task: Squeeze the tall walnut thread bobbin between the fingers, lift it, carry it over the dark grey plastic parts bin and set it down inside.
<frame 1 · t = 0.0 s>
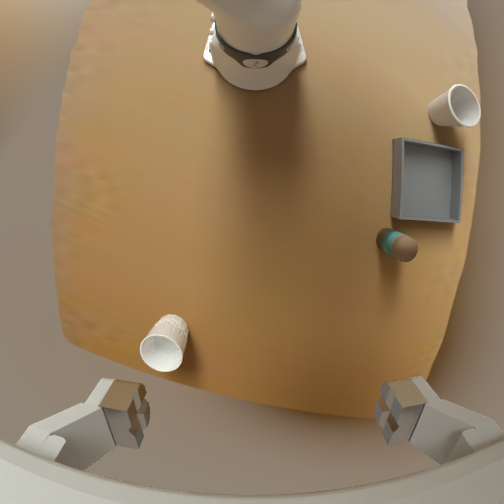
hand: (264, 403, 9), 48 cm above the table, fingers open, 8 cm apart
bin: (423, 181, 54), on the table
white cup: (173, 328, 61), on the table
dixie cup: (437, 113, 51), on the table
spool: (386, 239, 57), on the table
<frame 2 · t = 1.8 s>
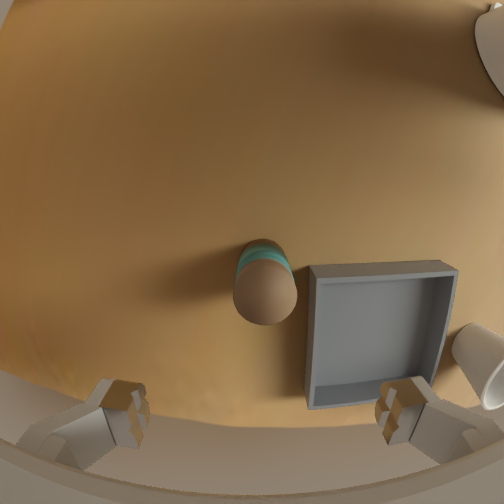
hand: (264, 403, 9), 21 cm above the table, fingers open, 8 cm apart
bin: (373, 328, 32), on the table
dixie cup: (467, 341, 33), on the table
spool: (262, 261, 30), on the table
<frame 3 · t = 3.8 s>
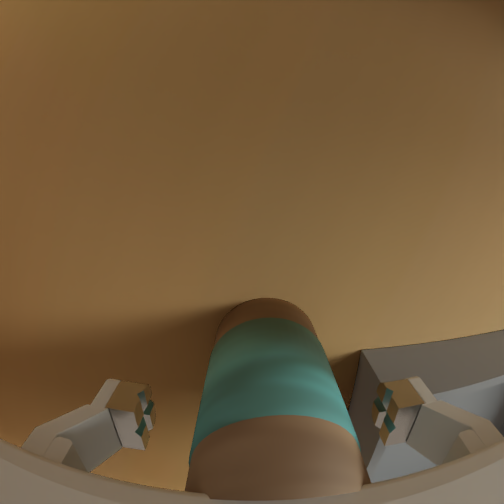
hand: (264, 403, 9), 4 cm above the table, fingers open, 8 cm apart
bin: (440, 431, 15), on the table
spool: (265, 344, 13), on the table
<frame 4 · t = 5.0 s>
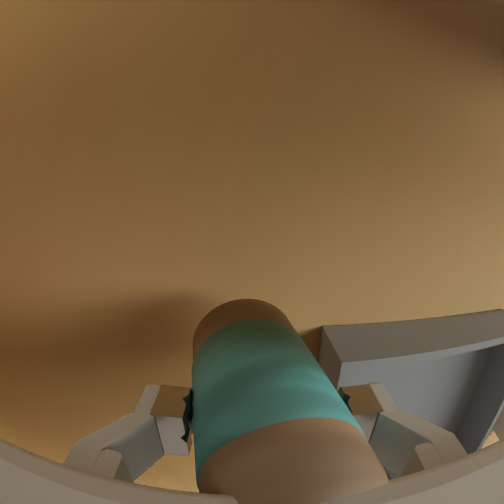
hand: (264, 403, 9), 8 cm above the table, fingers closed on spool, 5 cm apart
bin: (404, 407, 19), on the table
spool: (244, 345, 13), point 4 cm above the table, tilted 8°, touching gripper
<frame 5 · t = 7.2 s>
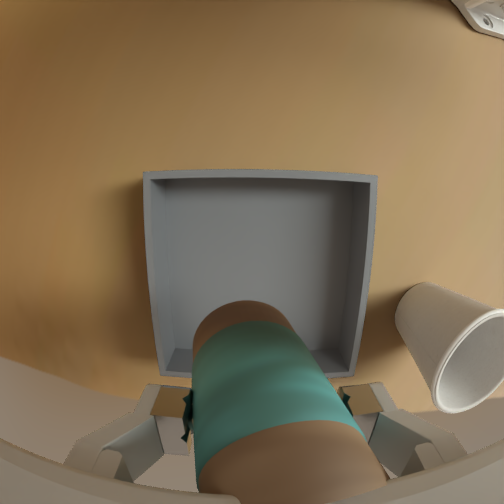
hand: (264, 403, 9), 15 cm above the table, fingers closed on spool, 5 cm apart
bin: (258, 269, 24), on the table
dixie cup: (420, 310, 25), on the table
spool: (244, 347, 13), point 12 cm above the table, tilted 10°, touching gripper
when the fingers open (6 cm above the table, at t = 9.2 s): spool drops 1 cm, resting on bin.
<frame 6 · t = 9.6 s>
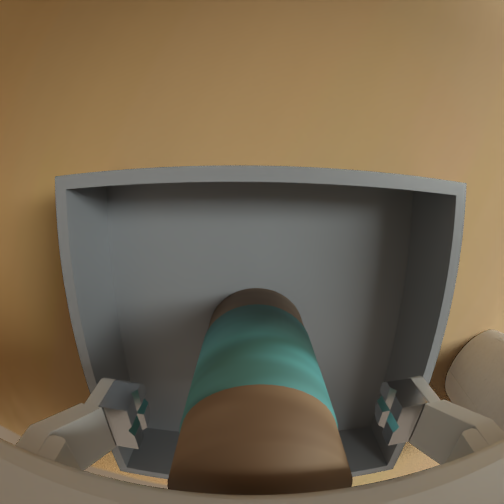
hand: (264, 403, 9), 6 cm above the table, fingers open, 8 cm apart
bin: (259, 329, 15), on the table
dixie cup: (475, 365, 16), on the table
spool: (256, 331, 14), point 1 cm above the table, touching bin
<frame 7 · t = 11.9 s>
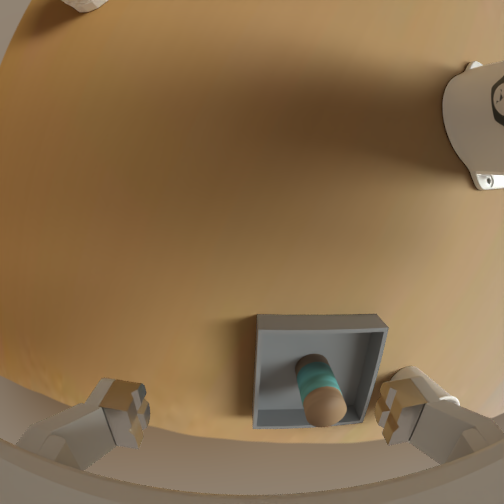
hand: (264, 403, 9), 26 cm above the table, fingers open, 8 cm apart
bin: (312, 366, 38), on the table
dixie cup: (404, 380, 40), on the table
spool: (311, 367, 38), resting on bin
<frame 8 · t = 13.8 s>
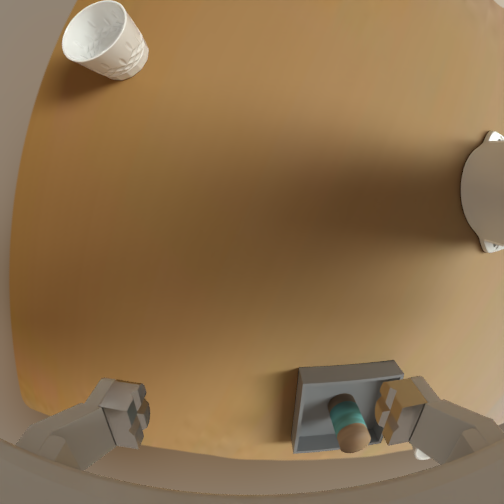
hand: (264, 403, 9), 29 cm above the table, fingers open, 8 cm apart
bin: (341, 402, 44), on the table
white cup: (125, 58, 32), on the table
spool: (341, 403, 43), resting on bin
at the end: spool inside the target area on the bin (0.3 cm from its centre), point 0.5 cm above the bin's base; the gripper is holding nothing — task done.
